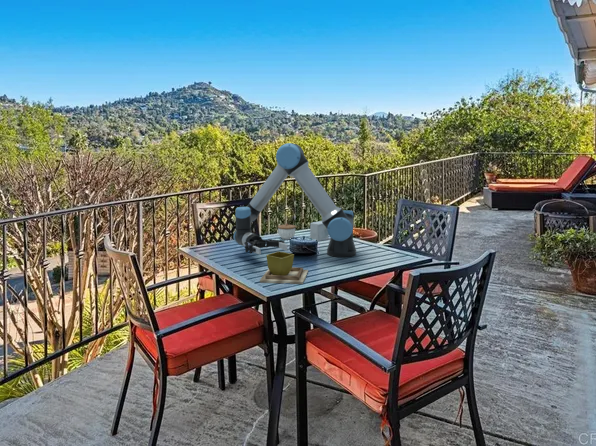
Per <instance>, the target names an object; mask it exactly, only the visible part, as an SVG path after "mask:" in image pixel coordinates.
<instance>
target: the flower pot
mask: <svg viewBox="0 0 596 446" xmlns="http://www.w3.org/2000/svg"><path fill="white" fill-rule="evenodd" d="M294 258H295V254H293V253H290V252H285V251H276V252H273V253H268V254H266V263H267V269H269V270H270V272H271V274H272V275H284V276H285V275H287V274H289V272H290V270H291V268H292V267H293V264H294Z"/></svg>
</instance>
